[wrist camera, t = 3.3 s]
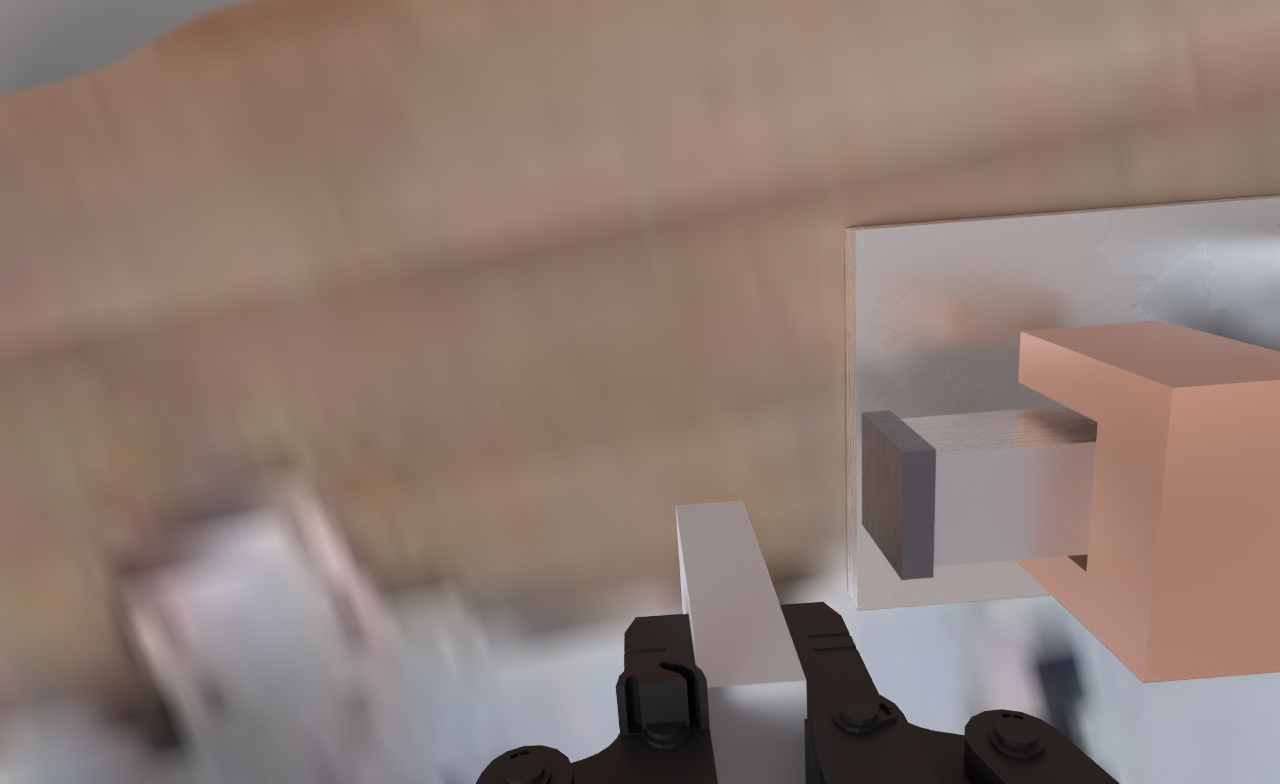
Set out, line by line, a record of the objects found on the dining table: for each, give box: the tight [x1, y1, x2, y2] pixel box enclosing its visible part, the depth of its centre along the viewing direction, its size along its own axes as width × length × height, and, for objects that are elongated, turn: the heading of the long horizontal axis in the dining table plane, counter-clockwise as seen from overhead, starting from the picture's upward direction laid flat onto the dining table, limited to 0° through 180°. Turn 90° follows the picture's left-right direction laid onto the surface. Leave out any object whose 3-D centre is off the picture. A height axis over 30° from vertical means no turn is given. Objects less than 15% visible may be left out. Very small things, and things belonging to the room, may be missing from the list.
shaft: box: [862, 406, 1098, 580], centre depth 21 cm, size 17×3×3 cm, turn 94°
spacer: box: [1015, 321, 1280, 683], centre depth 21 cm, size 4×7×6 cm, turn 4°
